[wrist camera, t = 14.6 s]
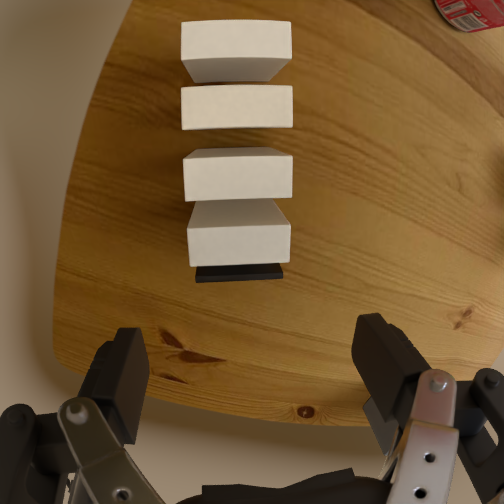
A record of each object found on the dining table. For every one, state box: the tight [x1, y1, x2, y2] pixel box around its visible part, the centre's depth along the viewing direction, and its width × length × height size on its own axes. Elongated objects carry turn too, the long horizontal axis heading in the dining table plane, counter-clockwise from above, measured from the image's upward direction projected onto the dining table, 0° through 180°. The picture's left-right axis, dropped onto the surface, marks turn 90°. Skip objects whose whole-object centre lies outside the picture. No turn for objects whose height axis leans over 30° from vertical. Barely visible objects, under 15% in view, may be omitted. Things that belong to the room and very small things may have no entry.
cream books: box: [181, 20, 293, 283], centre depth 21 cm, size 16×6×9 cm, turn 1°
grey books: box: [363, 397, 399, 455], centre depth 35 cm, size 10×6×9 cm, turn 71°
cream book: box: [187, 198, 291, 266], centre depth 23 cm, size 2×6×9 cm, turn 90°
